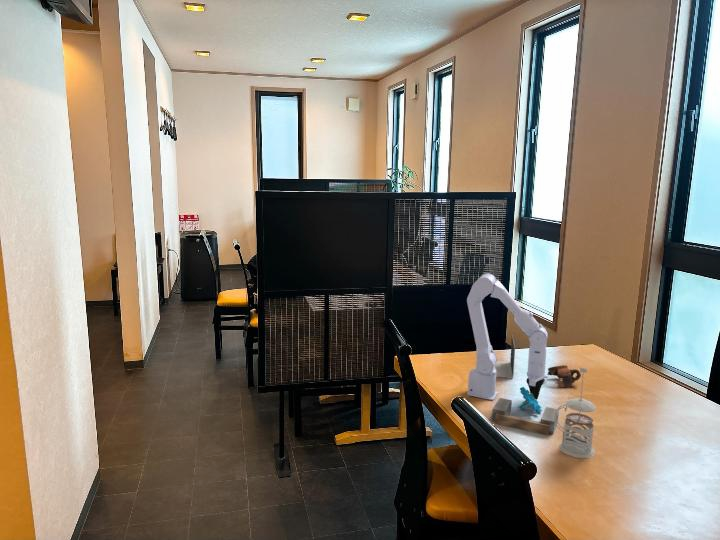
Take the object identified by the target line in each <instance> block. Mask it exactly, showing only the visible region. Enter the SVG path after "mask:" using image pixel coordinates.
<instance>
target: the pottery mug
mask: <svg viewBox="0 0 720 540" xmlns="http://www.w3.org/2000/svg"><path fill="white" fill-rule="evenodd" d="M547 371H548V372H547V374H546V375H548V376H555V377H557V378H558V379H559V380H560V381H557V386H558V388H564V387H565V388H567V387H568V388H569V387H570V388H571V387H573V384H574V383H575V382H576V381H579V380H580V378H581V377H582V374H581V372H580V369H579V370H578V369H576V368H575V369H569V368H568V365H564V364H562V365H555V366H551V367H548V368H547ZM575 374H576V375H575ZM574 375H575V377H574Z"/></svg>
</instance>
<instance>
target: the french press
mask: <svg viewBox="0 0 720 540" xmlns="http://www.w3.org/2000/svg"><path fill="white" fill-rule="evenodd" d="M579 371H580V373H582V375H581V377H582V378H581V388H580V390H581V391H580V398H570V399H567V400H566V401H565V404H564V405H560V406H559V407H558V408H556V409H557V411H558V410H559V411H560V410H561V409H564V412H567V411H568V410H567V408H569V409H571V410H573V411H577V412H571V413H567V414H566V416H565V417H566V418H565V421H564V426H562V425H560V423H559V420H558V421H557V418H556V414H557V411H556V412H555V415H554V421H555V418H556V421H557V424H556V421H555V424H556V427H557V428H558V429H559V430H560V431H561V432H562V442H560V443H559V445H558V449H559V450H560V451H561V452H562V453H563V454H565V453H566V454H565V455H568V456H570V455H571V457H572V456H573V458H577V459H589V457H590V458H592V457H594V456H595V455H596V453H595V452H596V451H595V449H594V448H593V446H592V445H593V437H594V424H593V423H594V420H593V418H592V417H591V416H589V415H587V414H584V413H592V412H594V411H595V410H596V407H597V406H596V405H595V404H594V403H593V402H591V401H589V400H587V399H584V398H583V397H582V396H583V395H582V394H583V384H584V373H587V372H588V369H587V368H586V367H584V366H582V367H580V368H579ZM578 426H579V427H578ZM585 426H586V427H585ZM577 434H578V435H577Z"/></svg>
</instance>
